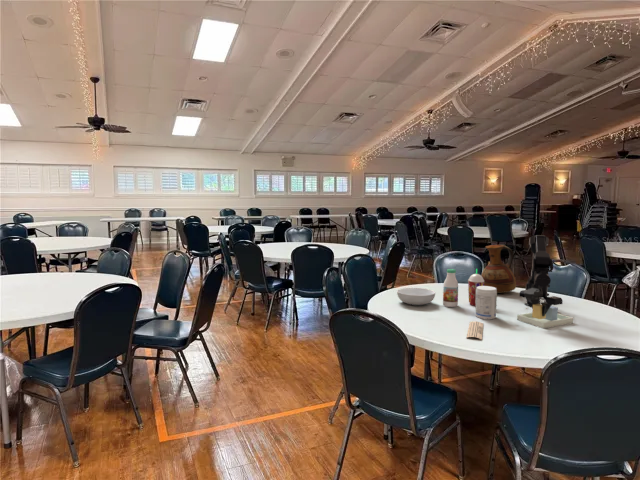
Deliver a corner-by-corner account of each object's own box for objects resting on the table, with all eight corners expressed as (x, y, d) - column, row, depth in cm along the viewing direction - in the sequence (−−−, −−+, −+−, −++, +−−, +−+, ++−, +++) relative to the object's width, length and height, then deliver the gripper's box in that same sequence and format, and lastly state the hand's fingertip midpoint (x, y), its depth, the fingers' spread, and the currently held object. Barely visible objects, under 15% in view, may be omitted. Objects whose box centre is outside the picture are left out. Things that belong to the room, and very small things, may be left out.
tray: (546, 315, 204) (546, 310, 204) (573, 322, 191) (573, 317, 191) (517, 319, 196) (517, 314, 196) (543, 328, 183) (543, 322, 183)
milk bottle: (440, 304, 226) (441, 268, 224) (454, 303, 227) (455, 268, 225) (446, 307, 219) (447, 270, 217) (460, 307, 219) (461, 270, 217)
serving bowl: (431, 299, 237) (431, 287, 237) (438, 308, 217) (438, 296, 216) (395, 298, 240) (395, 286, 239) (398, 307, 219) (398, 295, 218)
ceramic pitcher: (476, 288, 266) (477, 242, 263) (507, 288, 265) (509, 242, 262) (487, 295, 246) (489, 246, 243) (521, 295, 245) (523, 246, 242)
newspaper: (469, 324, 192) (469, 320, 192) (485, 326, 189) (486, 322, 189) (466, 340, 170) (466, 335, 170) (484, 342, 168) (484, 338, 167)
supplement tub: (484, 313, 208) (486, 285, 206) (500, 318, 199) (501, 288, 198) (470, 315, 203) (471, 286, 202) (486, 320, 195) (487, 290, 193)
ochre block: (538, 316, 195) (538, 303, 194) (545, 318, 191) (546, 305, 190) (532, 317, 193) (532, 304, 192) (539, 319, 189) (540, 306, 189)
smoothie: (484, 307, 220) (486, 270, 218) (468, 306, 221) (469, 269, 219) (481, 303, 228) (483, 267, 226) (466, 302, 230) (467, 267, 228)
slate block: (549, 317, 198) (550, 305, 197) (557, 319, 194) (557, 307, 194) (543, 318, 196) (544, 306, 196) (551, 320, 193) (552, 308, 192)
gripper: (511, 280, 196) (510, 312, 197) (547, 288, 179) (545, 322, 180) (528, 278, 200) (526, 309, 202) (564, 285, 183) (562, 319, 185)
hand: (539, 315), depth 192 cm, fingers closed on ochre block, 4 cm apart
